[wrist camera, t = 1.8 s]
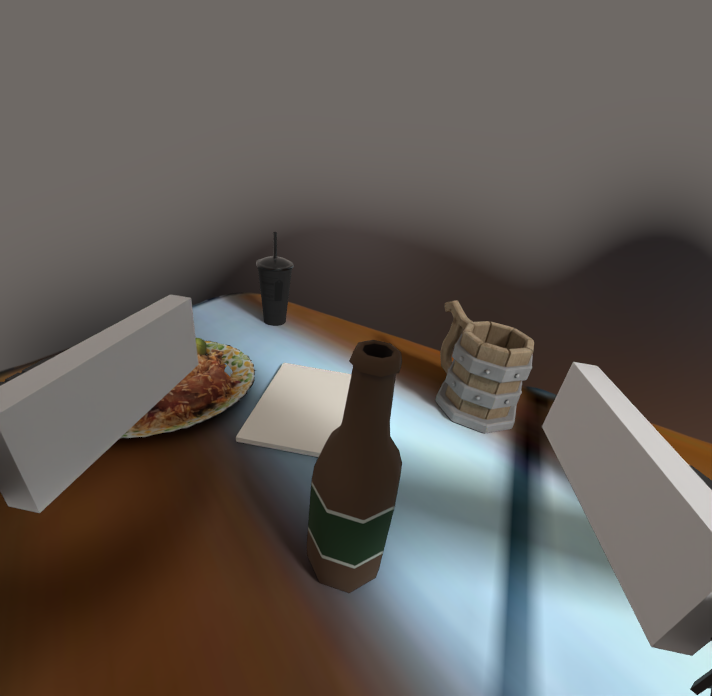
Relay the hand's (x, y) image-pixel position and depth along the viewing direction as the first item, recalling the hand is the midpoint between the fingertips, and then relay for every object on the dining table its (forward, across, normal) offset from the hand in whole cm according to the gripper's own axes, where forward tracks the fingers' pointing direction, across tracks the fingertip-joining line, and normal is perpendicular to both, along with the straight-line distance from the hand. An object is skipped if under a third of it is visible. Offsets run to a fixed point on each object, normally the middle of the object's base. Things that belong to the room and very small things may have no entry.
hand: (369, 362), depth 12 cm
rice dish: (+32, -33, -30) cm, 55 cm away
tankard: (+44, +16, -29) cm, 55 cm away
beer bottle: (+11, 0, -29) cm, 31 cm away
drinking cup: (+61, -25, -29) cm, 72 cm away
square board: (+33, -7, -29) cm, 44 cm away
